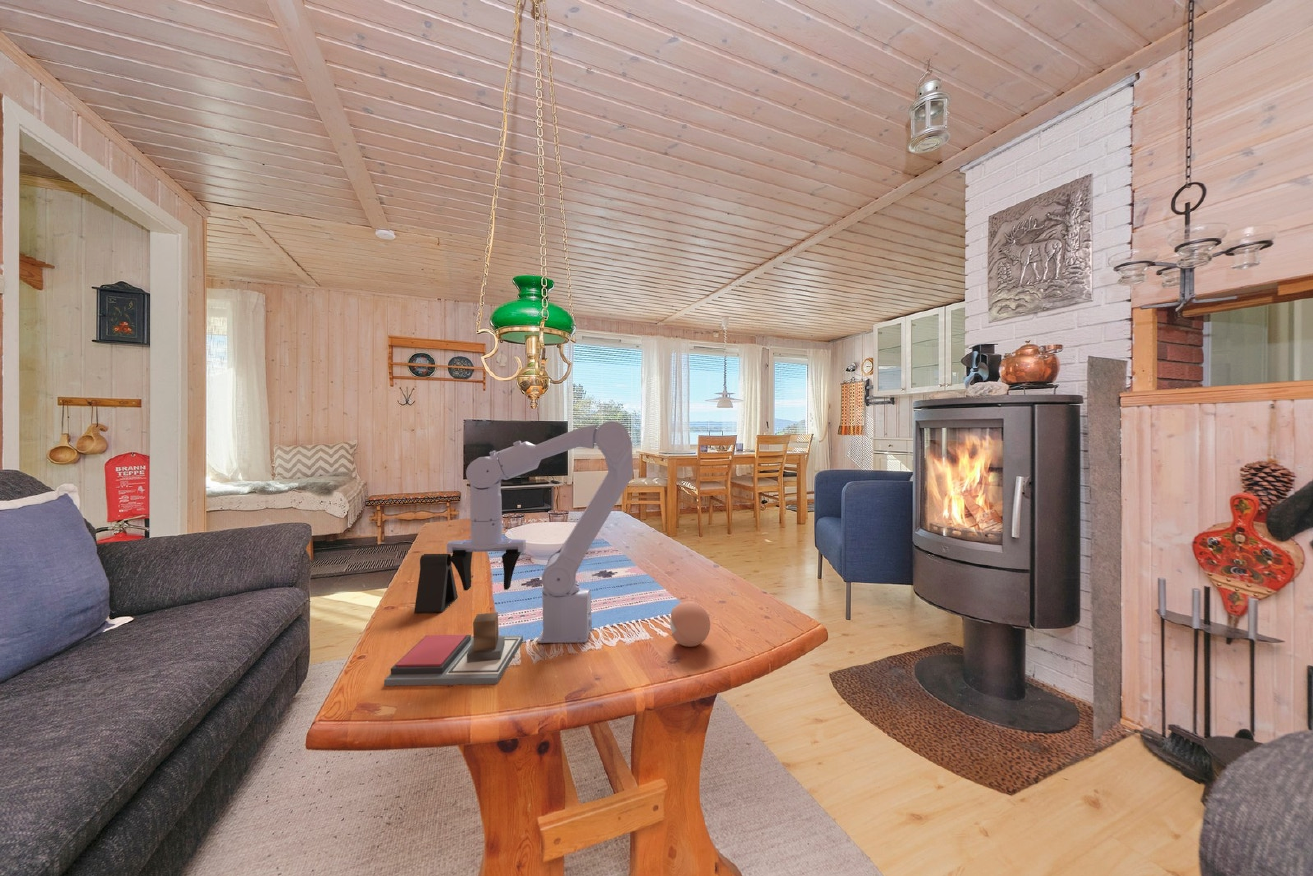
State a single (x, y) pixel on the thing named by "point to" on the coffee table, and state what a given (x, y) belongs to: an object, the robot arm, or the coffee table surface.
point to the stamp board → (449, 662)
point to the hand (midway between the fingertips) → (487, 588)
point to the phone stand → (435, 584)
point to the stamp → (485, 639)
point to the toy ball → (689, 624)
